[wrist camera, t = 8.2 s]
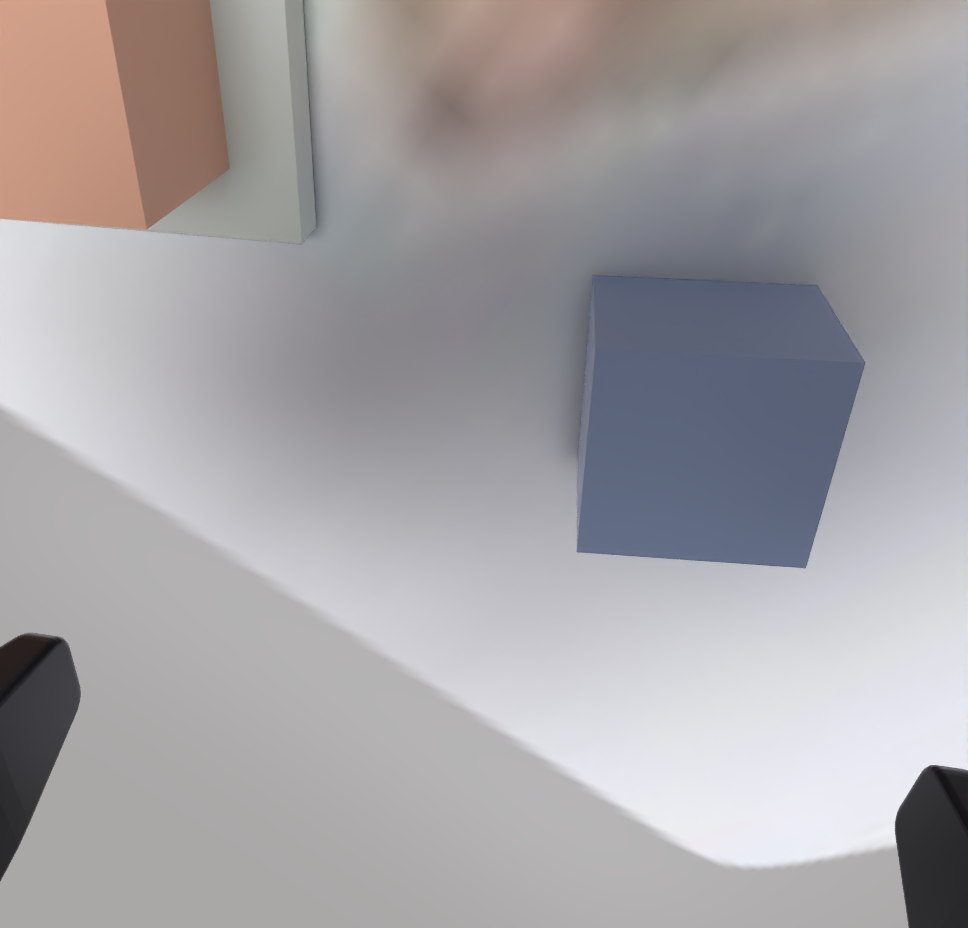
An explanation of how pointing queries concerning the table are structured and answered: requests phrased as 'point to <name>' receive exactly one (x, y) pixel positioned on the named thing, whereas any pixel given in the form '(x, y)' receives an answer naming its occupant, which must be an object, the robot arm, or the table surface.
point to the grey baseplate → (257, 130)
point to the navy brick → (710, 419)
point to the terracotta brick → (107, 110)
